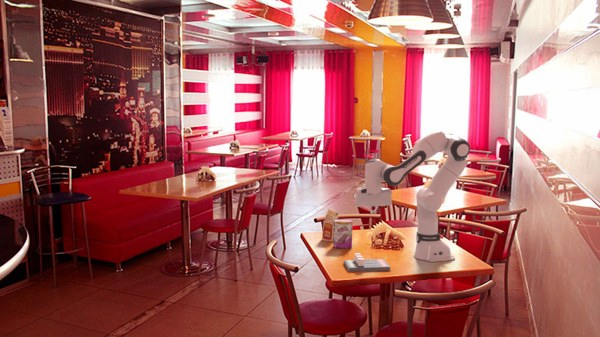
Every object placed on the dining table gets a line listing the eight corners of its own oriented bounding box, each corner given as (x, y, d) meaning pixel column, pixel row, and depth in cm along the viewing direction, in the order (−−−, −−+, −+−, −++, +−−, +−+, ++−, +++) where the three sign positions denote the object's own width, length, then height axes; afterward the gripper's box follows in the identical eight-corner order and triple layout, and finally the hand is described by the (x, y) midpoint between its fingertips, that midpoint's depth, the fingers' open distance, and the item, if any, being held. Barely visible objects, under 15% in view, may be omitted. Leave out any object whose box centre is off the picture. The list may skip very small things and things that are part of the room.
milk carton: (321, 239, 338) (321, 209, 336) (329, 236, 346) (329, 206, 343) (333, 242, 333) (334, 210, 331) (341, 238, 341) (341, 208, 338)
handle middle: (361, 262, 284) (361, 255, 283) (362, 263, 281) (362, 256, 281) (356, 262, 283) (356, 255, 283) (356, 263, 281) (357, 256, 281)
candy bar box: (333, 248, 319) (333, 221, 317) (333, 245, 324) (334, 219, 322) (352, 248, 318) (352, 222, 316) (352, 246, 323) (352, 220, 321)
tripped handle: (363, 264, 279) (363, 257, 279) (364, 266, 277) (364, 259, 276) (357, 264, 279) (357, 258, 279) (358, 266, 277) (358, 259, 276)
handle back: (359, 259, 288) (359, 253, 288) (360, 260, 286) (360, 254, 285) (354, 259, 288) (354, 253, 287) (355, 261, 285) (355, 254, 285)
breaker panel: (383, 262, 291) (383, 258, 291) (390, 270, 277) (390, 266, 277) (343, 263, 289) (343, 259, 289) (348, 271, 275) (348, 267, 275)
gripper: (390, 187, 292) (390, 211, 294) (353, 188, 290) (354, 213, 292) (393, 189, 286) (393, 214, 288) (356, 190, 284) (356, 215, 286)
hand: (373, 213), depth 290 cm, fingers closed
